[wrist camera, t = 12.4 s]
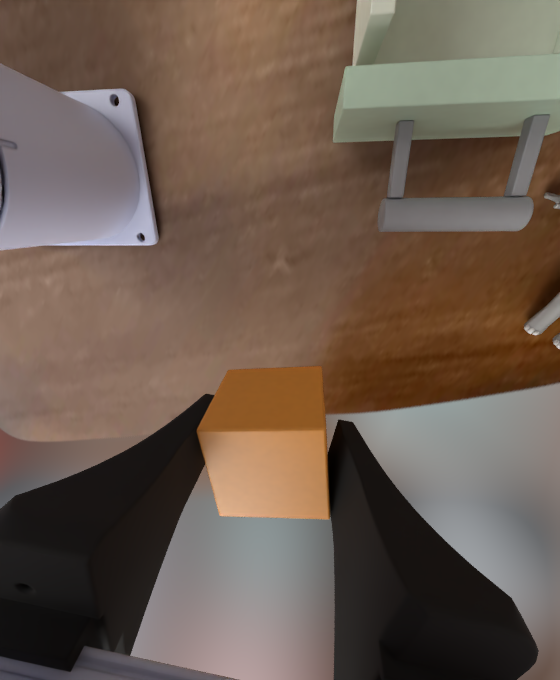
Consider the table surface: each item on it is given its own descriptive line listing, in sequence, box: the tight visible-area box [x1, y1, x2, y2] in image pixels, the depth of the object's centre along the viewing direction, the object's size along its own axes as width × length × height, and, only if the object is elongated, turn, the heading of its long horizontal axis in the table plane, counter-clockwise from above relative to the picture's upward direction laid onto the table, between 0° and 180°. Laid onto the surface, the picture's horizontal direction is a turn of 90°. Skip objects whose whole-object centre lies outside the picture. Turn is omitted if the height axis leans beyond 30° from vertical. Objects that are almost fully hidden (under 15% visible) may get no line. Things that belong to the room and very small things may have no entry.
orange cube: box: [197, 366, 330, 519], centre depth 12 cm, size 4×4×4 cm
